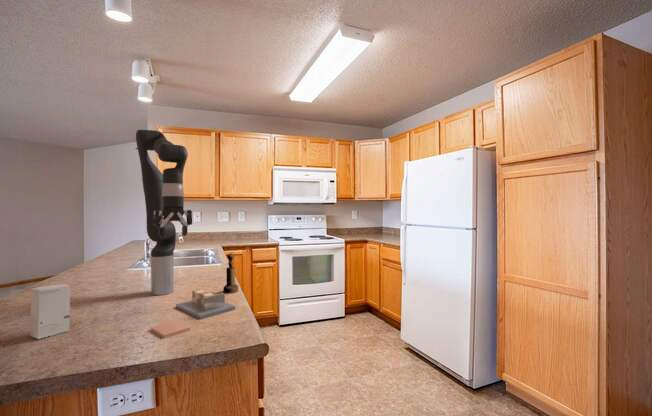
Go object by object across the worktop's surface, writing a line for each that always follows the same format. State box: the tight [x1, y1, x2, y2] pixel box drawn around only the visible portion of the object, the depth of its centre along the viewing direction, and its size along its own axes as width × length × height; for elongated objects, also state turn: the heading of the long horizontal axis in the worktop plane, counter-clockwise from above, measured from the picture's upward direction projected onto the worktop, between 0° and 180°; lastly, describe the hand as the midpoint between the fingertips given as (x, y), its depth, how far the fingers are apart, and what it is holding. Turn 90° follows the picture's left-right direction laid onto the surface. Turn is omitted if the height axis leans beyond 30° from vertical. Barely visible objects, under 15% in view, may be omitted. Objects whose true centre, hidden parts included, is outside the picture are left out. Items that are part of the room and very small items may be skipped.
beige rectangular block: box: [191, 288, 226, 311], centre depth 123 cm, size 15×8×5 cm, turn 49°
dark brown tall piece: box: [222, 252, 239, 294], centre depth 146 cm, size 7×6×18 cm
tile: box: [150, 319, 191, 339], centre depth 101 cm, size 1×8×10 cm
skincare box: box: [29, 283, 71, 340], centre depth 98 cm, size 8×6×15 cm
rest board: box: [175, 300, 236, 320], centre depth 122 cm, size 20×14×1 cm
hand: (173, 236), depth 123 cm, fingers open, 8 cm apart
